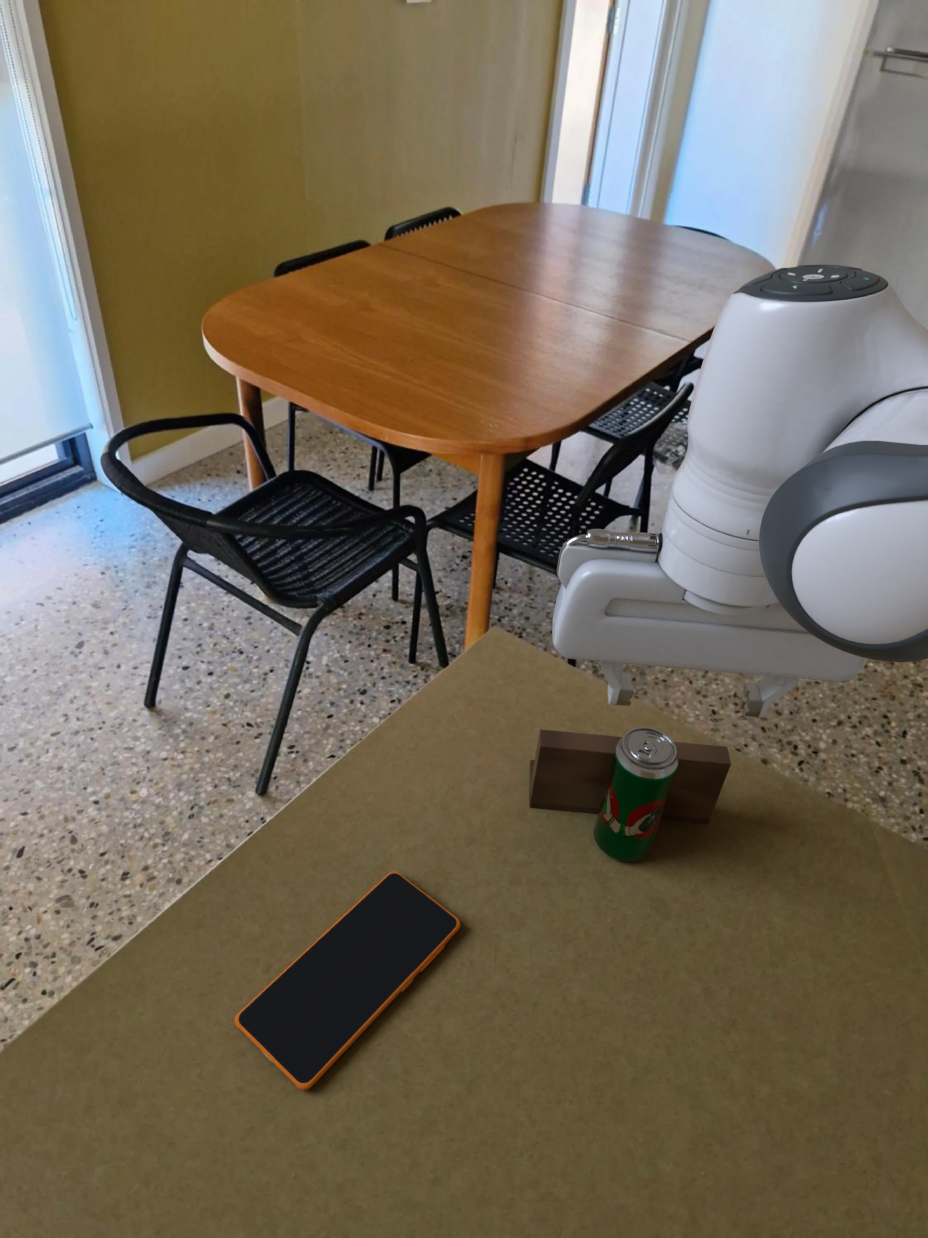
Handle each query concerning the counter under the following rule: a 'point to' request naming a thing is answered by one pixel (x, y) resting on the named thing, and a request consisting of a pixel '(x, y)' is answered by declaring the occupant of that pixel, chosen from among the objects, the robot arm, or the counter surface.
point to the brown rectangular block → (581, 765)
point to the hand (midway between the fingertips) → (684, 705)
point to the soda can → (635, 793)
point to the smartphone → (346, 979)
